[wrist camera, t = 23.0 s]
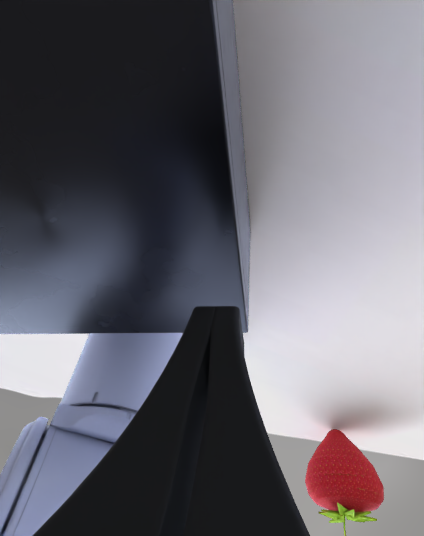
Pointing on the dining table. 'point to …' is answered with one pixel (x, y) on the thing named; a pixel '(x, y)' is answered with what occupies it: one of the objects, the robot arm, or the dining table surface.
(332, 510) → the strawberry
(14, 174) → the warmer
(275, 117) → the dining table surface
